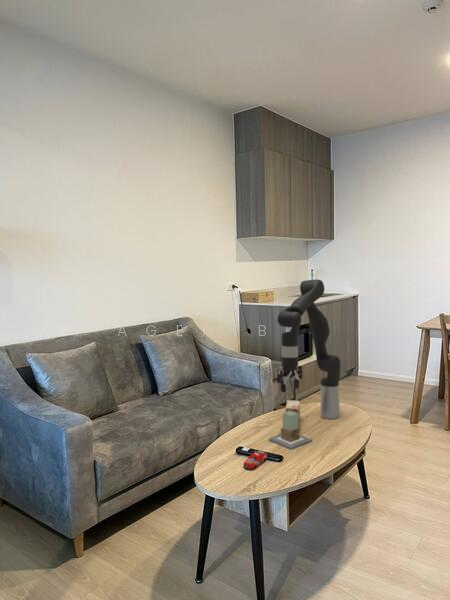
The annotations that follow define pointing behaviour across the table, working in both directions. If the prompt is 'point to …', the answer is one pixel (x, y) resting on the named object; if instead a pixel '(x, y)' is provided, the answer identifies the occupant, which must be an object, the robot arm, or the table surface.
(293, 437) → the board
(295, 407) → the stack of blocks
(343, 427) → the table surface
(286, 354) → the robot arm
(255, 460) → the race car
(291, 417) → the sage block
